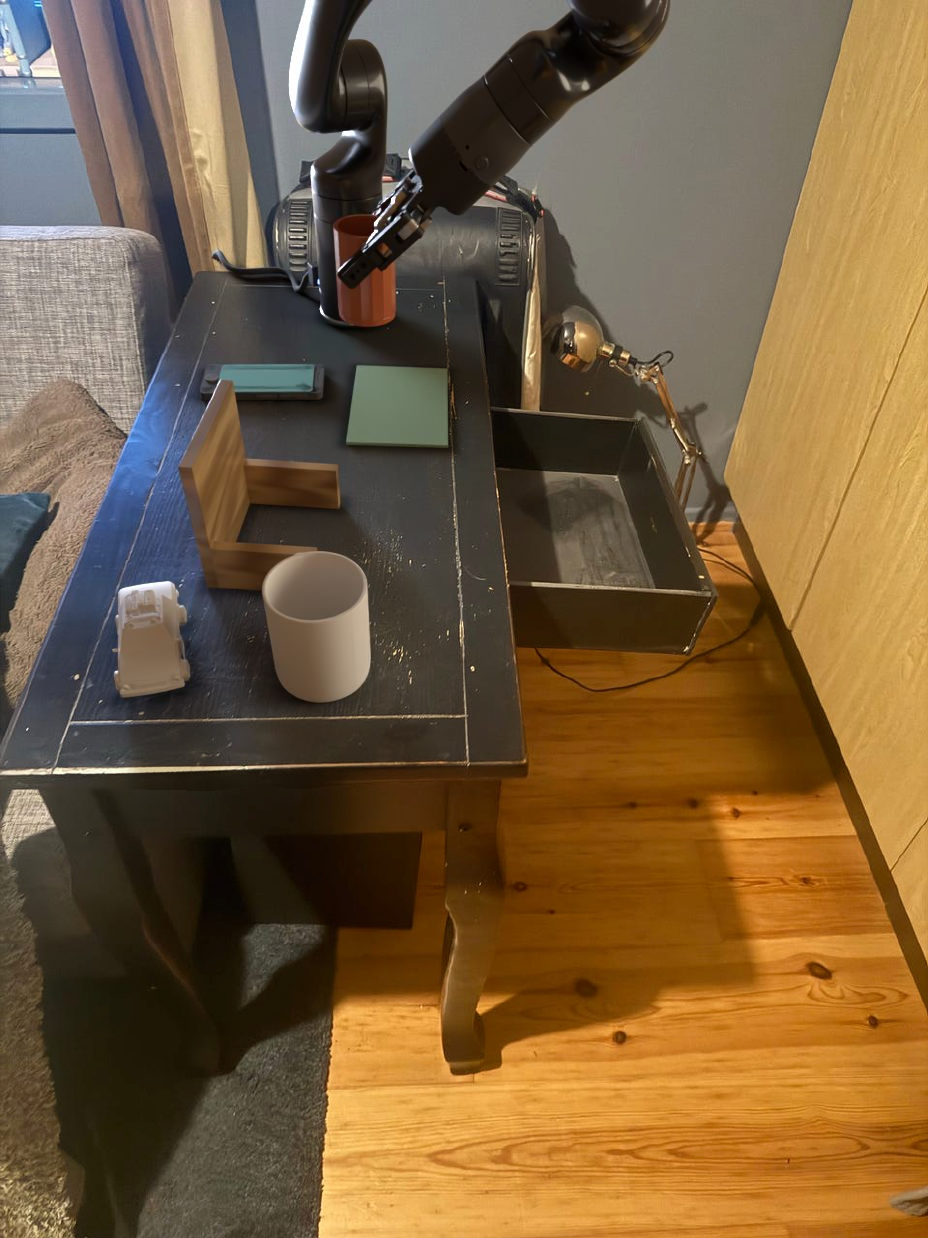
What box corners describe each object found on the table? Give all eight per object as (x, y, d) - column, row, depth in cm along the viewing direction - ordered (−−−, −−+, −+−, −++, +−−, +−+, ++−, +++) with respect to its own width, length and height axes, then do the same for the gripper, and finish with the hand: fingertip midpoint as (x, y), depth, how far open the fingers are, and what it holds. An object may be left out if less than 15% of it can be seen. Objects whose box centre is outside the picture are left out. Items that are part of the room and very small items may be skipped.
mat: (357, 367, 109) (357, 364, 109) (447, 371, 110) (447, 368, 109) (346, 444, 97) (346, 441, 96) (447, 448, 97) (448, 445, 97)
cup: (330, 305, 88) (324, 218, 81) (382, 297, 90) (380, 210, 83) (351, 330, 84) (347, 241, 78) (404, 320, 86) (404, 232, 80)
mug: (260, 618, 76) (244, 533, 69) (346, 600, 79) (340, 515, 71) (287, 716, 69) (273, 632, 61) (382, 692, 71) (379, 609, 63)
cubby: (340, 502, 89) (332, 386, 79) (319, 594, 79) (306, 475, 69) (241, 495, 89) (220, 379, 79) (207, 587, 79) (178, 466, 69)
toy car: (120, 714, 68) (98, 660, 63) (120, 613, 76) (101, 559, 71) (195, 701, 69) (178, 647, 64) (187, 603, 77) (172, 549, 72)
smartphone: (206, 362, 106) (323, 362, 107) (208, 371, 107) (324, 371, 108) (198, 392, 101) (321, 392, 102) (200, 401, 101) (322, 400, 103)
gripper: (448, 90, 78) (332, 211, 87) (437, 137, 68) (308, 269, 77) (498, 155, 82) (383, 265, 91) (496, 208, 72) (366, 326, 81)
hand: (349, 266), depth 84 cm, fingers closed on cup, 6 cm apart
